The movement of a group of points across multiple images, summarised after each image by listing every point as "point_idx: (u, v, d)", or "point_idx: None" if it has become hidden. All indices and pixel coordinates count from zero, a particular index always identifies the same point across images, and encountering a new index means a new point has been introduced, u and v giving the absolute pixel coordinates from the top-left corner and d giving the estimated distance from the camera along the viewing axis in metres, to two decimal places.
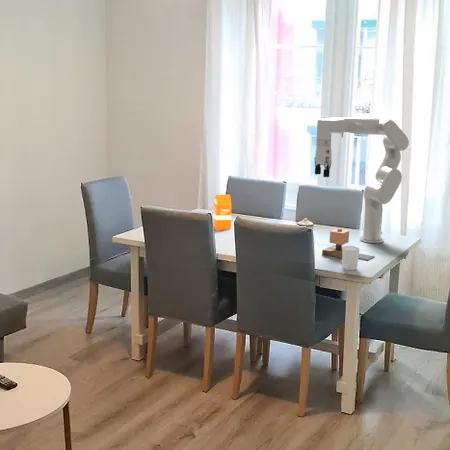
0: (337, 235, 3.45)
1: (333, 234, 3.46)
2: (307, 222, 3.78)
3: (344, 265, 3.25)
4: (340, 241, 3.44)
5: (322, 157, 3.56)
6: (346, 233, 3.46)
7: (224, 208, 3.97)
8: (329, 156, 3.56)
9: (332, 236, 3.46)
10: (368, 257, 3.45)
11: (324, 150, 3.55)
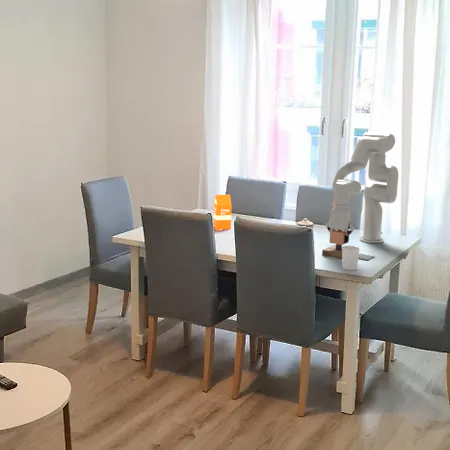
0: (337, 235, 3.45)
1: (333, 234, 3.46)
2: (307, 222, 3.78)
3: (344, 265, 3.25)
4: (340, 241, 3.44)
5: None
6: None
7: (224, 208, 3.97)
8: None
9: (332, 236, 3.46)
10: (368, 257, 3.45)
11: None
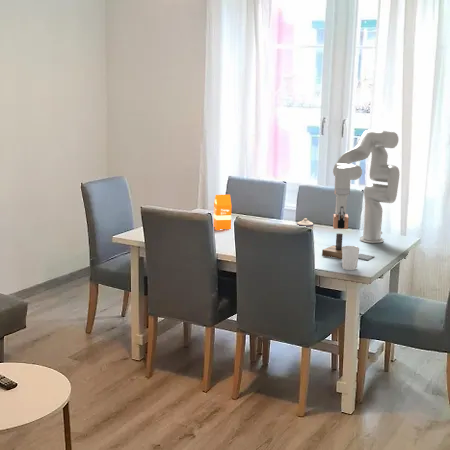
0: None
1: (333, 217, 3.48)
2: (307, 222, 3.78)
3: (344, 265, 3.25)
4: (333, 225, 3.45)
5: None
6: None
7: (224, 208, 3.97)
8: None
9: (333, 219, 3.49)
10: (368, 257, 3.45)
11: None
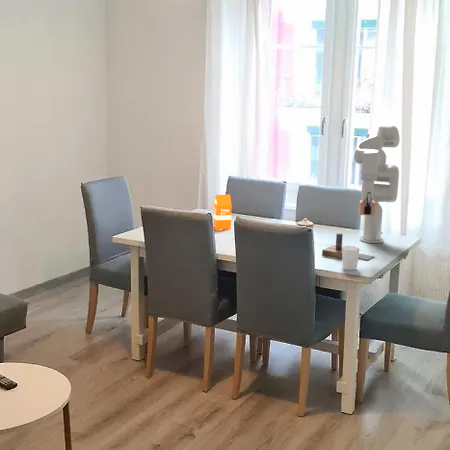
0: None
1: (359, 203, 3.42)
2: (307, 222, 3.78)
3: (344, 265, 3.25)
4: (360, 211, 3.39)
5: None
6: None
7: (224, 208, 3.97)
8: None
9: (359, 205, 3.43)
10: (368, 257, 3.45)
11: None
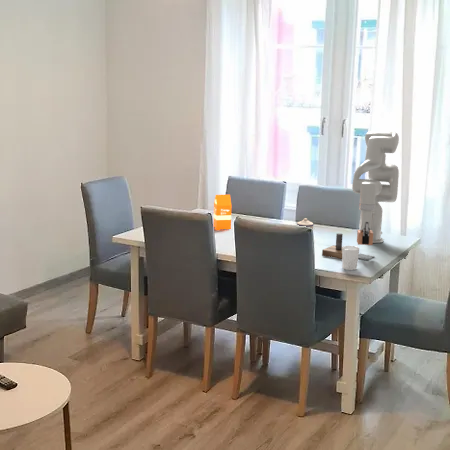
0: None
1: (357, 233, 3.46)
2: (307, 222, 3.78)
3: (344, 265, 3.25)
4: (358, 240, 3.42)
5: None
6: None
7: (224, 208, 3.97)
8: None
9: (357, 235, 3.46)
10: (368, 257, 3.45)
11: None
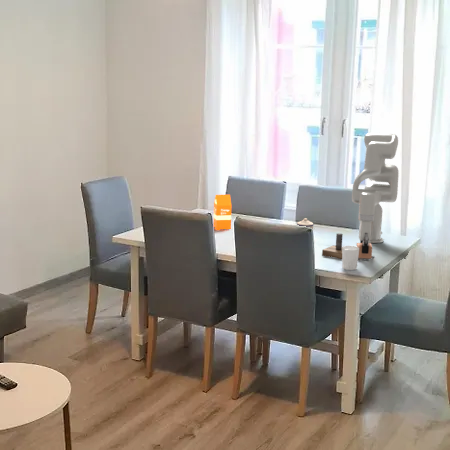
0: None
1: None
2: (307, 222, 3.78)
3: (344, 265, 3.25)
4: None
5: None
6: None
7: (224, 208, 3.97)
8: None
9: None
10: None
11: None
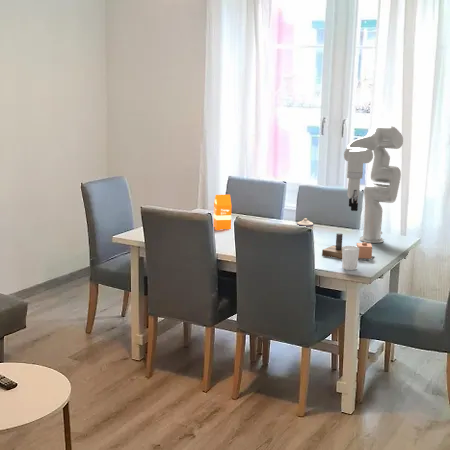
0: None
1: None
2: (307, 222, 3.78)
3: (344, 265, 3.25)
4: None
5: None
6: (366, 248, 3.42)
7: (224, 208, 3.97)
8: None
9: None
10: None
11: None
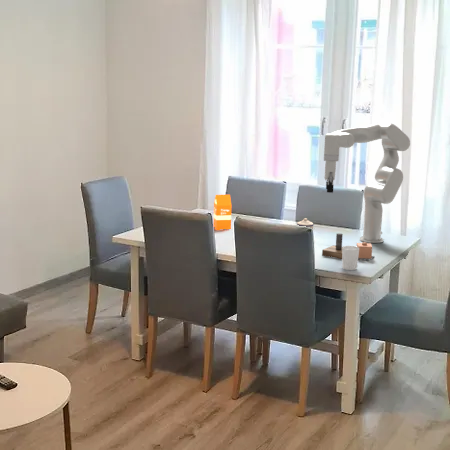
0: None
1: None
2: (307, 222, 3.78)
3: (344, 265, 3.25)
4: None
5: None
6: (366, 248, 3.42)
7: (224, 208, 3.97)
8: None
9: None
10: None
11: None
